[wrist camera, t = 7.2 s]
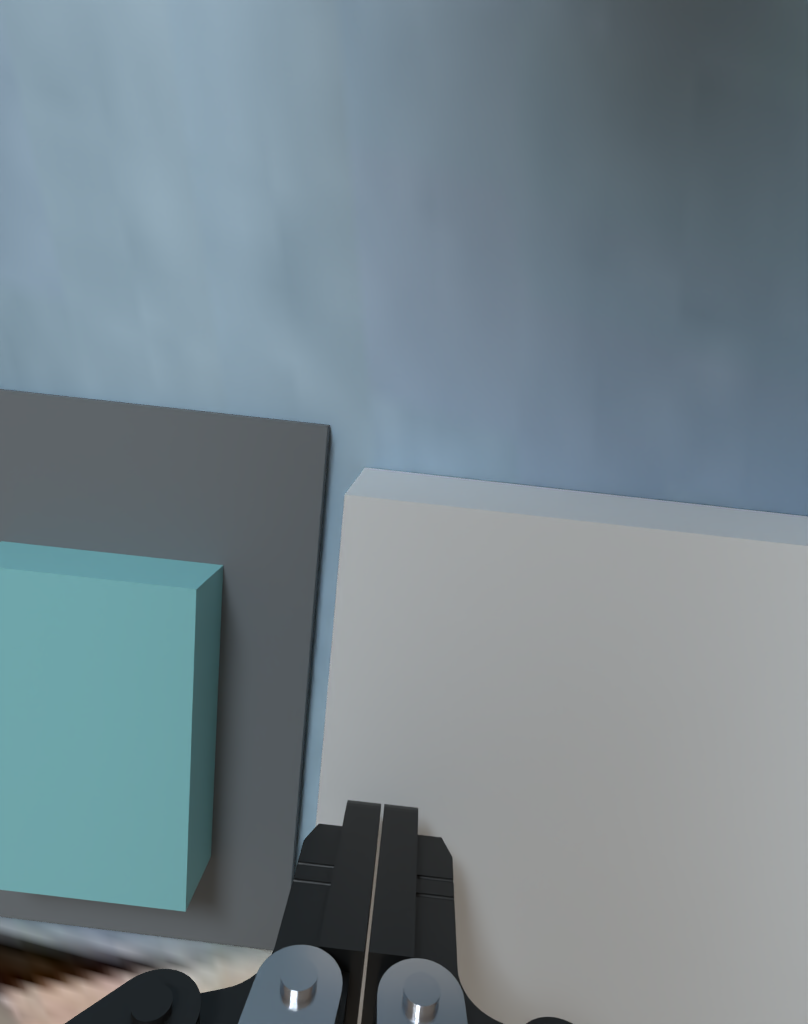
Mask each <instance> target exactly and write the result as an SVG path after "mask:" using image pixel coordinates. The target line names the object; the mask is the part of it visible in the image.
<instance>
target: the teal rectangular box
mask: <svg viewBox="0 0 808 1024" xmlns="http://www.w3.org/2000/svg"><path fill="white" fill-rule="evenodd" d="M222 584H223V565H217V564H208V563H199V562H189V561H180V560H171V559H162V558H152V557H143V556H134V555H125V554H115V553H106V552H97V551H88V550H78V549H69V548H60V547H51V546H41V545H32V544H23V543H14V542H4V541H1V542H0V890H7V891H16V892H24V893H32V894H41V895H49V896H58V897H66V898H75V899H83V900H91V901H100V902H108V903H117V904H125V905H133V906H142V907H150V908H159V909H167V910H176V911H184V912H186V910H187V907H188V905H189V903H190V901H191V899H192V897H193V894H194V892H195V890H196V888H197V886H198V883H199V881H200V879H201V877H202V875H203V873H204V870H205V868H206V866H207V864H208V862H209V860H210V857H211V843H212V819H213V796H214V772H215V749H216V725H217V701H218V678H219V654H220V631H221V607H222Z"/></svg>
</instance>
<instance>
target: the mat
mask: <svg viewBox="0 0 808 1024" xmlns="http://www.w3.org/2000/svg"><path fill="white" fill-rule="evenodd" d="M329 432H330V425H324V424H315V423H306V422H297V421H287V420H278V419H269V418H260V417H251V416H242V415H233V414H223V413H214V412H205V411H196V410H187V409H178V408H169V407H159V406H150V405H141V404H132V403H123V402H114V401H105V400H95V399H86V398H77V397H68V396H59V395H50V394H41V393H31V392H22V391H13V390H4V389H0V542H1V541H4V542H14V543H23V544H32V545H41V546H51V547H60V548H69V549H78V550H88V551H97V552H106V553H115V554H125V555H134V556H143V557H152V558H162V559H171V560H180V561H189V562H199V563H208V564H217V565H223V584H222V607H221V631H220V654H219V678H218V701H217V725H216V749H215V772H214V796H213V819H212V843H211V857H210V860H209V862H208V864H207V866H206V868H205V870H204V873H203V875H202V877H201V879H200V881H199V883H198V886H197V888H196V890H195V892H194V894H193V897H192V899H191V901H190V903H189V905H188V907H187V910H186V912H184V911H176V910H167V909H159V908H150V907H142V906H133V905H125V904H117V903H108V902H100V901H91V900H83V899H75V898H66V897H58V896H49V895H41V894H32V893H24V892H16V891H7V890H0V916H1V917H9V918H17V919H25V920H33V921H41V922H49V923H57V924H65V925H73V926H81V927H89V928H97V929H106V930H114V931H122V932H130V933H138V934H146V935H154V936H162V937H170V938H178V939H186V940H194V941H202V942H210V943H218V944H226V945H234V946H242V947H250V948H258V949H266V950H274V947H275V944H276V940H277V936H278V933H279V929H280V925H281V922H282V918H283V915H284V911H285V907H286V904H287V900H288V896H289V893H290V889H291V885H292V883H293V877H294V865H295V853H296V840H297V828H298V816H299V803H300V791H301V778H302V766H303V754H304V741H305V729H306V716H307V704H308V692H309V679H310V667H311V655H312V642H313V630H314V617H315V605H316V593H317V580H318V568H319V556H320V543H321V531H322V518H323V506H324V494H325V481H326V469H327V457H328V444H329Z"/></svg>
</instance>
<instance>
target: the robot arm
mask: <svg viewBox="0 0 808 1024" xmlns="http://www.w3.org/2000/svg"><path fill="white" fill-rule="evenodd" d="M380 813H381V804H380V803H371V802H362V801H354V800H348V801H347V805H346V810H345V815H344V820H343V825H342V826H337V825H328V824H318V825H317V826H316V827H315V828H314V829H313V831H312V832H311V833H310V834H309V835H308V836H307V837H306V838H305V840H304V842H303V845H302V849H301V853H300V856H299V860H298V865H297V867H296V871H295V874H294V878H293V883H292V885H291V889H290V893H289V896H288V900H287V904H286V907H285V911H284V915H283V918H282V922H281V925H280V929H279V933H278V936H277V940H276V944H275V947H274V950H273V953H272V955H271V956H269V957H268V958H267V959H266V960H265V961H264V963H263V964H262V965H261V967H260V968H259V970H258V972H257V974H255V975H254V976H253V977H251V978H250V979H248V980H246V981H244V982H243V983H240V984H238V985H235V986H232V987H229V988H225V989H220V990H215V991H210V992H205V993H200V992H199V989H198V987H197V985H196V984H195V982H194V981H193V980H192V979H191V978H190V977H189V976H187V975H186V974H184V973H182V972H179V971H177V970H171V969H158V970H152V971H149V972H145V973H143V974H140V975H138V976H136V977H134V978H133V979H131V980H129V981H128V982H126V983H125V984H123V985H122V986H120V987H119V988H117V989H116V990H114V991H113V992H111V993H110V994H108V995H107V996H105V997H104V998H102V999H101V1000H99V1001H98V1002H96V1003H95V1004H93V1005H92V1006H90V1007H89V1008H87V1009H86V1010H84V1011H83V1012H81V1013H80V1014H78V1015H77V1016H75V1017H74V1018H73V1019H71V1020H70V1021H68V1022H67V1023H65V1024H357V1022H358V1013H359V1004H360V996H361V987H362V978H363V969H364V960H365V952H366V943H367V934H368V925H369V916H370V907H371V899H372V890H373V880H374V871H375V861H376V852H377V842H378V832H379V823H380ZM361 1024H503V1023H501V1022H499V1021H497V1020H495V1019H493V1018H491V1017H489V1016H488V1015H486V1014H485V1013H484V1012H482V1011H481V1010H480V1009H479V1008H478V1007H477V1006H475V1005H474V1003H473V1002H472V1001H471V1000H470V999H469V997H468V996H467V994H466V993H465V991H464V989H463V987H462V985H461V982H460V979H459V975H458V967H457V945H456V923H455V902H454V883H453V858H452V855H451V854H450V852H449V850H448V848H447V846H446V845H445V843H444V841H443V839H442V837H434V836H425V835H418V808H416V807H408V806H399V805H390V804H384V813H383V822H382V831H381V841H380V850H379V859H378V868H377V878H376V887H375V896H374V905H373V915H372V924H371V933H370V942H369V952H368V961H367V971H366V980H365V990H364V1000H363V1009H362V1019H361ZM526 1024H573V1023H571V1022H568V1021H566V1020H563V1019H560V1018H556V1017H539V1018H536V1019H533V1020H531V1021H529V1022H528V1023H526Z"/></svg>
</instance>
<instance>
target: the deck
mask: <svg viewBox="0 0 808 1024" xmlns="http://www.w3.org/2000/svg"><path fill="white" fill-rule="evenodd" d="M348 800H354V801H362V802H371V803H380V804H381V813H380V823H379V832H378V842H377V852H376V861H375V871H374V880H373V890H372V899H371V907H370V916H369V925H368V934H367V943H366V952H365V960H364V969H363V978H362V987H361V996H360V1004H359V1013H358V1022H357V1024H361V1019H362V1009H363V1000H364V990H365V980H366V971H367V961H368V952H369V942H370V933H371V924H372V915H373V905H374V896H375V887H376V878H377V868H378V859H379V850H380V841H381V831H382V822H383V813H384V804H390V805H399V806H408V807H416V808H418V835H425V836H434V837H442V839H443V841H444V843H445V845H446V846H447V848H448V850H449V852H450V854H451V855H452V858H453V883H454V902H455V923H456V945H457V967H458V975H459V979H460V982H461V985H462V987H463V989H464V991H465V993H466V994H467V996H468V997H469V999H470V1000H471V1001H472V1002H473V1003H474V1005H475V1006H477V1007H478V1008H479V1009H480V1010H481V1011H482V1012H484V1013H485V1014H486V1015H488V1016H489V1017H491V1018H493V1019H495V1020H497V1021H499V1022H501V1023H503V1024H526V1023H528V1022H529V1021H531V1020H533V1019H536V1018H539V1017H556V1018H560V1019H563V1020H566V1021H568V1022H571V1023H573V1024H808V516H799V515H790V514H781V513H772V512H763V511H754V510H745V509H736V508H727V507H718V506H709V505H700V504H691V503H682V502H672V501H663V500H654V499H645V498H636V497H627V496H618V495H609V494H600V493H591V492H582V491H573V490H564V489H555V488H546V487H537V486H528V485H519V484H510V483H500V482H491V481H482V480H473V479H464V478H455V477H446V476H437V475H428V474H419V473H410V472H401V471H392V470H383V469H374V468H364V469H363V471H362V472H361V473H360V475H359V476H358V477H357V479H356V480H355V481H354V483H353V484H352V485H351V487H350V488H349V489H348V491H347V492H346V494H345V498H344V509H343V520H342V532H341V543H340V555H339V566H338V578H337V589H336V600H335V612H334V623H333V635H332V646H331V658H330V669H329V680H328V692H327V703H326V715H325V726H324V738H323V749H322V760H321V772H320V783H319V795H318V806H317V818H316V826H317V825H318V824H328V825H337V826H342V825H343V820H344V815H345V810H346V805H347V801H348Z"/></svg>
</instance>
